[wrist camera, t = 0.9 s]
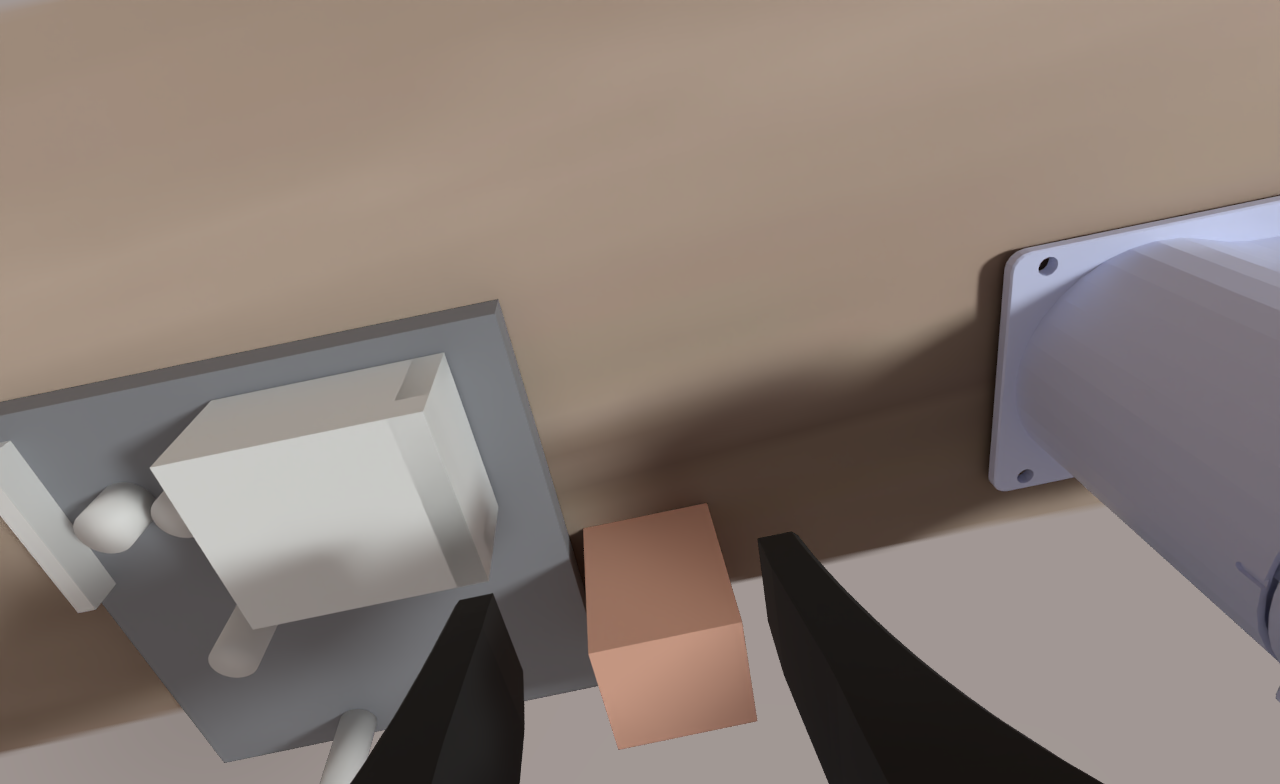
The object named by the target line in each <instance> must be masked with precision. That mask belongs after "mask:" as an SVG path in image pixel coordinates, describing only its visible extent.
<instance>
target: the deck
mask: <svg viewBox="0 0 1280 784" xmlns="http://www.w3.org/2000/svg"><path fill="white" fill-rule="evenodd" d="M439 353H444V354H445V357H446V360H447V362H448V365H449V368H450V371H451V374H452V377H453V379H454V382H455V385H456V388H457V391H458V394H459V396H460V399H461V402H462V405H463V408H464V411H465V413H466V416H467V419H468V422H469V425H470V428H471V430H472V433H473V436H474V439H475V442H476V445H477V447H478V450H479V453H480V456H481V459H482V462H483V464H484V467H485V470H486V473H487V476H488V479H489V481H490V484H491V487H492V490H493V493H494V496H495V498H496V501H497V504H498V515H497V522H496V530H495V537H494V545H493V553H492V560H491V568H490V575H489V581H487V582H482V583H477V584H472V585H467V586H462V587H458V588H453V589H448V590H443V591H438V592H433V593H429V594H424V595H419V596H414V597H409V598H404V599H399V600H395V601H390V602H385V603H380V604H375V605H370V606H365V607H361V608H356V609H351V610H346V611H341V612H336V613H332V614H327V615H322V616H317V617H312V618H307V619H302V620H298V621H293V622H288V623H283V624H278V625H273V626H269V627H264V628H259V629H254V630H253V629H252V628H251V626H250V624H249V623H248V621H247V620H246V618H245V617H244V615H243V613H242V612H241V610H240V609H239V607H238V606H237V604H236V602H235V601H234V599H233V598H232V596H231V595H230V593H229V592H228V590H227V588H226V587H225V585H224V584H223V582H222V581H221V579H220V577H219V576H218V574H217V573H216V571H215V570H214V568H213V566H212V565H211V563H210V562H209V560H208V559H207V557H206V556H205V554H204V552H203V551H202V549H201V548H200V546H199V545H198V543H197V541H196V540H195V538H194V537H193V535H192V534H191V532H190V530H189V529H188V527H187V526H186V524H185V523H184V521H183V519H182V518H181V516H180V515H179V513H178V512H177V510H176V509H175V507H174V505H173V504H172V502H171V501H170V499H169V498H168V496H167V494H166V493H165V491H164V490H163V488H162V487H161V485H160V483H159V482H158V480H157V479H156V477H155V476H154V474H153V473H152V471H151V469H150V467H151V466H152V465H153V463H154V462H155V461H156V460H157V459H158V458H159V457H160V456H161V455H162V454H163V453H164V451H165V450H166V449H167V448H168V447H169V446H170V445H171V444H172V443H173V442H174V441H175V439H176V438H177V437H178V436H179V435H180V434H181V433H182V432H183V431H184V430H185V429H186V427H187V426H188V425H189V424H190V423H191V422H192V421H193V420H194V419H195V418H196V416H197V415H198V414H199V413H200V412H201V411H202V410H203V409H204V408H205V407H206V406H207V404H208V403H209V402H210V401H211V400H216V399H221V398H226V397H231V396H235V395H240V394H245V393H250V392H255V391H260V390H264V389H269V388H274V387H279V386H284V385H289V384H293V383H298V382H303V381H308V380H313V379H318V378H323V377H327V376H332V375H337V374H342V373H347V372H352V371H356V370H361V369H366V368H371V367H376V366H381V365H385V364H390V363H395V362H400V361H405V360H410V359H414V358H419V357H424V356H429V355H434V354H439ZM0 516H1V517H2V518H3V520H4V521H5V522H6V523H7V525H8V526H9V527H10V528H11V530H12V531H13V532H14V533H15V535H16V536H17V537H18V538H19V540H20V541H21V542H22V543H23V545H24V546H25V547H26V548H27V550H28V551H29V552H30V553H31V555H32V556H33V557H34V558H35V560H36V561H37V562H38V563H39V565H40V566H41V567H42V569H43V570H44V571H45V572H46V574H47V575H48V576H49V577H50V579H51V580H52V581H53V582H54V584H55V585H56V586H57V587H58V589H59V590H60V591H61V592H62V594H63V595H64V596H65V597H66V599H67V600H68V601H69V602H70V604H71V605H72V606H73V607H74V609H75V610H76V611H77V612H78V613H82V612H87V611H91V610H96V609H97V608H98V606H99V605H100V604H101V603H102V604H103V606H104V607H105V608H106V609H107V611H108V612H109V613H110V615H111V616H112V617H113V619H114V620H115V621H116V622H117V624H118V625H119V626H120V628H121V629H122V630H123V632H124V633H125V634H126V635H127V637H128V638H129V639H130V641H131V642H132V643H133V645H134V646H135V647H136V649H137V650H138V651H139V652H140V654H141V655H142V656H143V658H144V659H145V660H146V662H147V663H148V664H149V665H150V667H151V668H152V669H153V671H154V672H155V673H156V675H157V676H158V677H159V678H160V680H161V681H162V682H163V684H164V685H165V686H166V688H167V689H168V690H169V691H170V693H171V694H172V695H173V697H174V698H175V699H176V701H177V702H178V703H179V705H180V706H181V707H182V708H183V710H184V711H185V712H186V714H187V715H188V716H189V717H190V719H191V720H192V721H193V723H194V724H195V725H196V727H197V728H198V729H199V730H200V732H201V733H202V734H203V736H204V737H205V738H206V740H207V741H208V742H209V744H210V745H211V746H212V747H213V749H214V750H215V751H216V753H217V754H218V755H219V757H220V758H221V759H222V760H223V761H224V763H226V762H231V761H236V760H241V759H245V758H250V757H255V756H260V755H265V754H270V753H275V752H279V751H284V750H290V749H294V748H299V747H304V746H309V745H314V744H318V743H323V742H328V741H333V743H332V746H331V750H330V753H329V756H328V759H327V762H326V765H325V769H324V772H323V775H322V778H321V781H320V784H350V783H351V781H352V780H353V779H354V777H355V776H356V774H357V773H358V771H359V770H360V768H361V767H362V765H363V764H364V762H365V761H366V759H367V758H368V755H369V751H370V747H371V743H372V740H373V736H374V732H377V731H382V730H386V728H387V727H388V725H389V723H390V722H391V720H392V719H393V717H394V715H395V714H396V712H397V710H398V709H399V707H400V705H401V704H402V702H403V700H404V698H405V697H406V695H407V693H408V691H409V690H410V688H411V686H412V685H413V683H414V681H415V679H416V678H417V676H418V674H419V672H420V671H421V669H422V667H423V665H424V663H425V661H426V660H427V658H428V656H429V654H430V652H431V651H432V649H433V647H434V645H435V643H436V641H437V639H438V637H439V636H440V634H441V632H442V630H443V628H444V626H445V624H446V622H447V620H448V618H449V616H450V615H451V613H452V611H453V609H454V607H455V605H456V604H457V603H458V601H459V600H462V599H467V598H472V597H477V596H481V595H486V594H491V593H493V594H494V597H495V599H496V602H497V605H498V607H499V610H500V612H501V615H502V617H503V620H504V623H505V625H506V628H507V630H508V633H509V636H510V638H511V641H512V643H513V646H514V648H515V651H516V654H517V656H518V659H519V661H520V664H521V667H522V669H523V679H524V701H527V700H532V699H537V698H542V697H547V696H551V695H556V694H561V693H566V692H571V691H576V690H581V689H586V688H590V687H595V686H598V683H597V680H596V677H595V673H594V670H593V667H592V664H591V661H590V658H589V654H588V634H587V609H586V592H585V589H584V585H583V582H582V579H581V575H580V572H579V569H578V565H577V562H576V559H575V555H574V552H573V548H572V545H571V542H570V538H569V535H568V532H567V528H566V525H565V522H564V518H563V515H562V512H561V508H560V505H559V502H558V498H557V495H556V492H555V488H554V485H553V481H552V478H551V475H550V471H549V468H548V465H547V461H546V458H545V455H544V451H543V448H542V445H541V441H540V438H539V435H538V431H537V428H536V425H535V421H534V418H533V414H532V411H531V408H530V404H529V401H528V398H527V394H526V391H525V388H524V384H523V381H522V378H521V374H520V371H519V368H518V364H517V361H516V358H515V354H514V351H513V347H512V344H511V341H510V337H509V334H508V331H507V327H506V324H505V321H504V317H503V314H502V311H501V307H500V304H499V301H498V299H497V300H492V301H487V302H483V303H478V304H473V305H468V306H463V307H458V308H454V309H449V310H444V311H439V312H434V313H429V314H424V315H420V316H415V317H410V318H405V319H400V320H395V321H391V322H386V323H381V324H376V325H371V326H366V327H362V328H357V329H352V330H347V331H342V332H337V333H333V334H328V335H323V336H318V337H313V338H308V339H304V340H299V341H294V342H289V343H284V344H279V345H274V346H270V347H265V348H260V349H255V350H250V351H245V352H241V353H236V354H231V355H226V356H221V357H216V358H212V359H207V360H202V361H197V362H192V363H187V364H183V365H178V366H173V367H168V368H163V369H158V370H154V371H149V372H144V373H139V374H134V375H129V376H124V377H120V378H115V379H110V380H105V381H100V382H95V383H91V384H86V385H81V386H76V387H71V388H66V389H62V390H57V391H52V392H47V393H42V394H37V395H33V396H28V397H23V398H18V399H13V400H8V401H4V402H0Z"/></svg>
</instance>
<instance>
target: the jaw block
mask: <svg viewBox="0 0 1280 784" xmlns="http://www.w3.org/2000/svg"><path fill="white" fill-rule="evenodd" d="M583 536H584V560H585V585H586V609H587V634H588V654H589V658H590V661H591V664H592V667H593V670H594V673H595V677H596V680H597V683H598V686H599V689H600V692H601V696H602V698H603V702H604V705H605V708H606V712H607V714H608V718H609V721H610V724H611V727H612V731H613V734H614V737H615V740H616V743H617V746H618V749H619V750H620V749H625V748H630V747H635V746H640V745H645V744H649V743H654V742H659V741H664V740H669V739H673V738H678V737H683V736H688V735H693V734H698V733H702V732H708V731H712V730H717V729H722V728H727V727H732V726H736V725H741V724H746V723H751V722H756V721H757V715H756V709H755V702H754V696H753V690H752V683H751V677H750V670H749V663H748V657H747V651H746V644H745V637H744V631H743V624H742V620H741V616H740V613H739V610H738V606H737V603H736V600H735V596H734V593H733V589H732V586H731V583H730V579H729V576H728V573H727V569H726V566H725V562H724V559H723V556H722V552H721V549H720V546H719V542H718V539H717V535H716V532H715V529H714V525H713V522H712V518H711V515H710V512H709V508H708V505H707V503H704V504H699V505H694V506H690V507H685V508H680V509H675V510H670V511H665V512H661V513H656V514H651V515H646V516H641V517H636V518H631V519H627V520H622V521H617V522H612V523H607V524H602V525H598V526H593V527H588V528H583Z"/></svg>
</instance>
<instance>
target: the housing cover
mask: <svg viewBox="0 0 1280 784" xmlns="http://www.w3.org/2000/svg"><path fill="white" fill-rule="evenodd" d="M150 469H151V471H152V473H153V474H154V476H155V477H156V479H157V480H158V482H159V483H160V485H161V487H162V488H163V490H164V491H165V493H166V494H167V496H168V498H169V499H170V501H171V502H172V504H173V505H174V507H175V509H176V510H177V512H178V513H179V515H180V516H181V518H182V519H183V521H184V523H185V524H186V526H187V527H188V529H189V530H190V532H191V534H192V535H193V537H194V538H195V540H196V541H197V543H198V545H199V546H200V548H201V549H202V551H203V552H204V554H205V556H206V557H207V559H208V560H209V562H210V563H211V565H212V566H213V568H214V570H215V571H216V573H217V574H218V576H219V577H220V579H221V581H222V582H223V584H224V585H225V587H226V588H227V590H228V592H229V593H230V595H231V596H232V598H233V599H234V601H235V602H236V604H237V606H238V607H239V609H240V610H241V612H242V613H243V615H244V617H245V618H246V620H247V621H248V623H249V624H250V626H251V628H252V629H253V630H254V629H259V628H264V627H269V626H273V625H278V624H283V623H288V622H293V621H298V620H302V619H307V618H312V617H317V616H322V615H327V614H332V613H336V612H341V611H346V610H351V609H356V608H361V607H365V606H370V605H375V604H380V603H385V602H390V601H395V600H399V599H404V598H409V597H414V596H419V595H424V594H429V593H433V592H438V591H443V590H448V589H453V588H458V587H462V586H467V585H472V584H477V583H482V582H487V581H489V575H490V568H491V560H492V553H493V545H494V537H495V530H496V522H497V515H498V504H497V501H496V498H495V496H494V493H493V490H492V487H491V484H490V481H489V479H488V476H487V473H486V470H485V467H484V464H483V462H482V459H481V456H480V453H479V450H478V447H477V445H476V442H475V439H474V436H473V433H472V430H471V428H470V425H469V422H468V419H467V416H466V413H465V411H464V408H463V405H462V402H461V399H460V396H459V394H458V391H457V388H456V385H455V382H454V379H453V377H452V374H451V371H450V368H449V365H448V362H447V360H446V357H445V354H444V353H439V354H434V355H429V356H424V357H419V358H414V359H410V360H405V361H400V362H395V363H390V364H385V365H381V366H376V367H371V368H366V369H361V370H356V371H352V372H347V373H342V374H337V375H332V376H327V377H323V378H318V379H313V380H308V381H303V382H298V383H293V384H289V385H284V386H279V387H274V388H269V389H264V390H260V391H255V392H250V393H245V394H240V395H235V396H231V397H226V398H221V399H216V400H211V401H210V402H209V403H208V404H207V406H206V407H205V408H204V409H203V410H202V411H201V412H200V413H199V414H198V415H197V416H196V418H195V419H194V420H193V421H192V422H191V423H190V424H189V425H188V426H187V427H186V429H185V430H184V431H183V432H182V433H181V434H180V435H179V436H178V437H177V438H176V439H175V441H174V442H173V443H172V444H171V445H170V446H169V447H168V448H167V449H166V450H165V451H164V453H163V454H162V455H161V456H160V457H159V458H158V459H157V460H156V461H155V462H154V463H153V465H152V466H151V467H150Z"/></svg>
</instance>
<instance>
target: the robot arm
mask: <svg viewBox="0 0 1280 784" xmlns="http://www.w3.org/2000/svg"><path fill="white" fill-rule="evenodd" d="M1048 257H1049V261H1048V264H1047V266H1046V267H1045V268H1044V269H1042V270H1040V271H1039V269H1038V268H1039V265H1040V263H1041V262H1042V261H1043V260H1044V259H1046V258H1048ZM1023 470H1025V471H1024V472H1023V473H1022V474H1021V475H1018V474H1019V473H1020V472H1022V471H1023ZM1073 477H1075V478H1076V479H1077V480H1078V481H1079V482H1080V483H1081V484H1082V485H1083V486H1084V487H1086V488H1087V489H1088V490H1089V491H1090V492H1091V493H1092V494H1093V495H1094V496H1096V497H1097V498H1098V499H1099V500H1100V501H1101V502H1102V503H1103V504H1104V505H1106V506H1107V507H1108V508H1109V509H1110V510H1111V511H1112V512H1113V513H1115V514H1116V515H1117V516H1118V517H1119V518H1120V519H1121V520H1122V521H1123V522H1124V523H1125V524H1127V525H1128V526H1129V527H1130V528H1131V529H1132V530H1134V532H1135V533H1137V534H1138V535H1139V536H1140V537H1141V538H1142V539H1143V540H1144V541H1145V542H1147V543H1148V544H1149V545H1150V546H1151V547H1152V548H1153V549H1154V550H1156V552H1158V553H1159V554H1160V555H1161V556H1162V557H1163V558H1164V559H1166V561H1168V562H1169V563H1170V564H1171V565H1172V566H1173V567H1174V568H1175V569H1176V570H1178V571H1179V572H1180V573H1181V574H1182V575H1183V576H1184V577H1185V578H1186V579H1188V580H1189V581H1190V582H1191V583H1192V584H1193V585H1194V586H1195V587H1196V588H1198V589H1199V590H1200V591H1201V592H1202V593H1203V594H1204V595H1205V596H1206V597H1207V598H1209V599H1210V600H1211V601H1212V602H1213V603H1214V604H1215V605H1216V606H1218V607H1219V608H1220V609H1221V610H1222V611H1223V612H1224V613H1225V614H1226V615H1227V616H1229V617H1230V618H1231V619H1232V620H1233V621H1234V622H1235V623H1236V624H1238V626H1240V627H1241V628H1242V629H1243V630H1244V631H1245V632H1246V633H1247V634H1248V635H1250V636H1251V637H1252V638H1253V639H1254V640H1255V641H1256V642H1257V643H1258V644H1260V645H1261V646H1262V647H1263V648H1264V649H1265V650H1266V651H1267V652H1268V653H1270V654H1271V655H1272V656H1273V657H1274V658H1275V659H1276V660H1277V661H1278V662H1279V663H1280V196H1276V197H1271V198H1266V199H1261V200H1257V201H1252V202H1247V203H1242V204H1237V205H1232V206H1227V207H1223V208H1218V209H1213V210H1208V211H1203V212H1198V213H1194V214H1189V215H1184V216H1179V217H1174V218H1169V219H1165V220H1160V221H1155V222H1150V223H1145V224H1140V225H1136V226H1131V227H1126V228H1121V229H1116V230H1111V231H1106V232H1102V233H1097V234H1092V235H1087V236H1082V237H1077V238H1073V239H1068V240H1063V241H1058V242H1053V243H1048V244H1044V245H1039V246H1034V247H1029V248H1024V249H1022V250H1019V251H1017V252H1015V253H1014V254H1013V255H1012V256H1011V257H1010V258H1009V260H1008V261H1007V263H1006V266H1005V269H1004V281H1003V294H1002V307H1001V320H1000V333H999V346H998V359H997V372H996V385H995V398H994V411H993V424H992V437H991V450H990V463H989V481H990V482H991V483H992V484H993V485H994V487H995V488H996V489H997V490H1000V491H1010V490H1015V489H1020V488H1025V487H1030V486H1035V485H1040V484H1044V483H1049V482H1054V481H1059V480H1064V479H1069V478H1073ZM758 547H759V555H760V562H761V570H762V578H763V585H764V593H765V601H766V609H767V617H768V623H769V626H770V629H771V633H772V636H773V640H774V643H775V646H776V650H777V653H778V656H779V660H780V663H781V666H782V670H783V673H784V676H785V678H786V681H787V684H788V686H789V688H790V691H791V693H792V696H793V698H794V701H795V703H796V706H797V708H798V710H799V713H800V715H801V718H802V720H803V723H804V725H805V727H806V730H807V732H808V735H809V737H810V739H811V742H812V744H813V746H814V749H815V751H816V754H817V756H818V759H819V761H820V763H821V766H822V768H823V771H824V773H825V775H826V778H827V780H828V783H829V784H1103V783H1102V782H1100V781H1098V780H1097V779H1095V778H1093V777H1091V776H1090V775H1088V774H1086V773H1084V772H1083V771H1081V770H1079V769H1078V768H1076V767H1074V766H1072V765H1071V764H1069V763H1067V762H1066V761H1064V760H1062V759H1061V758H1059V757H1058V756H1056V755H1055V754H1053V753H1052V752H1050V751H1048V750H1047V749H1045V748H1044V747H1042V746H1041V745H1039V744H1037V743H1036V742H1034V741H1033V740H1031V739H1030V738H1028V737H1026V736H1025V735H1023V734H1022V733H1020V732H1019V731H1017V730H1016V729H1014V728H1013V727H1011V726H1009V725H1008V724H1006V723H1005V722H1003V721H1002V720H1000V719H999V718H997V717H996V716H994V715H993V714H992V713H990V712H989V711H987V710H986V709H985V708H983V707H982V706H980V705H979V704H977V703H976V702H975V701H974V700H972V699H971V698H969V697H968V696H967V695H965V694H964V693H963V692H961V691H960V690H959V689H957V688H956V687H955V686H953V685H952V684H951V683H949V682H948V681H947V680H945V679H944V678H943V677H942V676H940V675H939V674H938V673H937V672H935V671H934V670H933V669H932V668H930V667H929V666H928V665H926V664H925V663H924V662H923V661H922V660H921V659H919V658H918V657H917V656H916V655H915V654H913V653H912V652H911V651H910V650H909V649H908V648H907V647H905V646H904V645H903V644H902V643H901V642H900V641H899V640H897V639H896V638H895V637H894V636H893V635H892V634H891V633H889V632H888V631H887V630H886V629H885V628H884V627H883V626H882V625H881V624H880V623H879V622H877V621H876V620H875V619H874V618H873V617H872V616H871V615H870V614H869V613H868V612H867V611H866V610H865V609H864V608H863V607H862V606H861V605H860V604H859V603H858V602H857V601H856V600H855V599H854V598H853V597H852V596H851V595H850V594H849V593H848V592H847V591H846V590H845V589H844V588H843V587H842V586H841V585H840V584H839V583H838V582H837V581H836V579H834V577H833V576H832V575H831V574H830V573H829V572H828V571H827V570H826V569H825V567H824V566H823V565H822V564H821V563H820V562H819V561H818V559H817V558H816V557H815V556H814V555H813V554H812V552H811V551H810V550H809V549H808V548H807V546H806V545H805V544H804V543H803V541H802V540H801V539H800V537H799V536H798V535H796V534H795V533H793V532H787V533H782V534H777V535H772V536H768V537H763V538H758ZM1276 699H1277V700H1278V701H1279V702H1280V687H1279V689H1278V691H1277V693H1276ZM523 740H524V679H523V669H522V667H521V664H520V661H519V659H518V656H517V654H516V651H515V648H514V646H513V643H512V641H511V638H510V636H509V633H508V630H507V628H506V625H505V623H504V620H503V617H502V615H501V612H500V610H499V607H498V605H497V602H496V599H495V597H494V594H493V593H491V594H486V595H481V596H477V597H472V598H467V599H462V600H459V601H458V603H457V604H456V605H455V607H454V609H453V611H452V613H451V615H450V616H449V618H448V620H447V622H446V624H445V626H444V628H443V630H442V632H441V634H440V636H439V637H438V639H437V641H436V643H435V645H434V647H433V649H432V651H431V652H430V654H429V656H428V658H427V660H426V661H425V663H424V665H423V667H422V669H421V671H420V672H419V674H418V676H417V678H416V679H415V681H414V683H413V685H412V686H411V688H410V690H409V691H408V693H407V695H406V697H405V698H404V700H403V702H402V704H401V705H400V707H399V709H398V710H397V712H396V714H395V715H394V717H393V719H392V720H391V722H390V723H389V725H388V727H387V728H386V730H385V731H384V733H383V734H382V736H381V738H380V739H379V741H378V742H377V744H376V745H375V747H374V749H373V750H372V752H371V753H370V755H369V756H368V758H367V759H366V761H365V762H364V764H363V765H362V767H361V768H360V770H359V771H358V773H357V774H356V776H355V777H354V779H353V780H352V781H351V783H350V784H519V783H520V773H521V762H522V751H523Z"/></svg>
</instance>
